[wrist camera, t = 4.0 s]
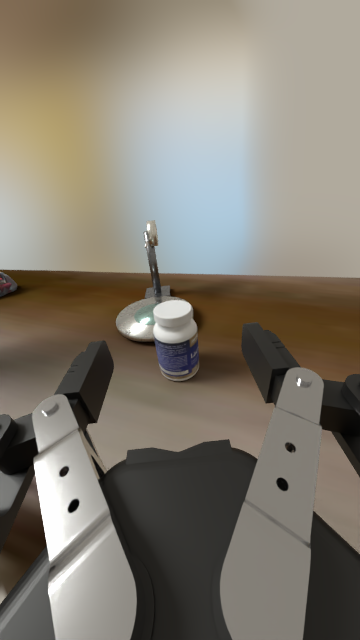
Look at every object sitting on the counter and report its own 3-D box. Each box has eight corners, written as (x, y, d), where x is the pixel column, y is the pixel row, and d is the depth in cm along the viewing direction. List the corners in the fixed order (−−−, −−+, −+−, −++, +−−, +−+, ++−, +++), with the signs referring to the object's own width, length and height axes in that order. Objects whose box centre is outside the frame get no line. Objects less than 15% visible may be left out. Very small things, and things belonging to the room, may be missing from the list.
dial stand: (144, 310, 45) (125, 228, 36) (147, 291, 53) (133, 221, 44) (170, 307, 45) (159, 224, 36) (170, 289, 53) (160, 218, 44)
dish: (110, 350, 34) (107, 341, 33) (125, 308, 47) (123, 300, 46) (198, 340, 34) (197, 330, 33) (189, 300, 47) (189, 292, 46)
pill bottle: (202, 380, 27) (199, 317, 22) (160, 385, 27) (146, 324, 22) (196, 351, 32) (192, 295, 27) (160, 356, 32) (149, 300, 26)
